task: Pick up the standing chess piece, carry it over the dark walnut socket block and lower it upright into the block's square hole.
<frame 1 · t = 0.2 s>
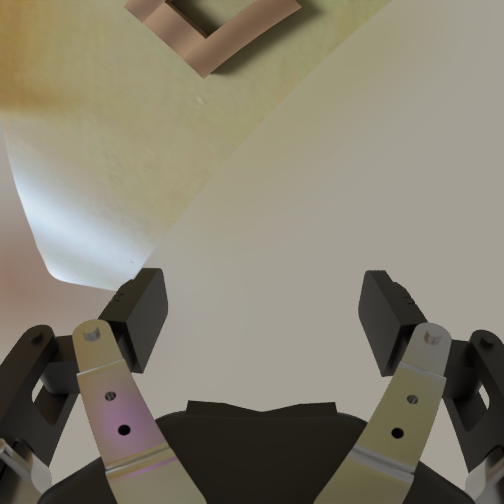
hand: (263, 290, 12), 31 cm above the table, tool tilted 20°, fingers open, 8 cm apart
socket block: (212, 1, 25), on the table
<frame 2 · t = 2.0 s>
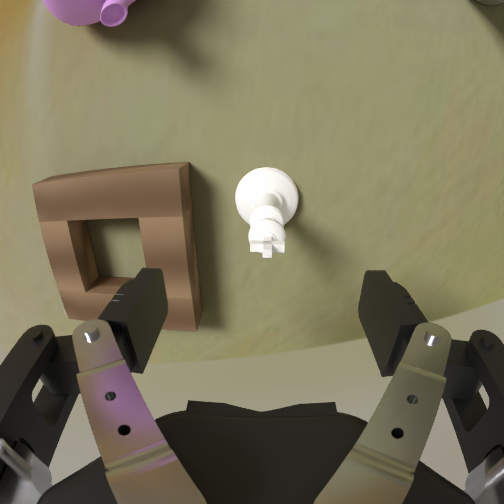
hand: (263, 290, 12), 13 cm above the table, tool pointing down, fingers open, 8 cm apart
socket block: (122, 244, 26), on the table
chess piece: (266, 197, 24), on the table
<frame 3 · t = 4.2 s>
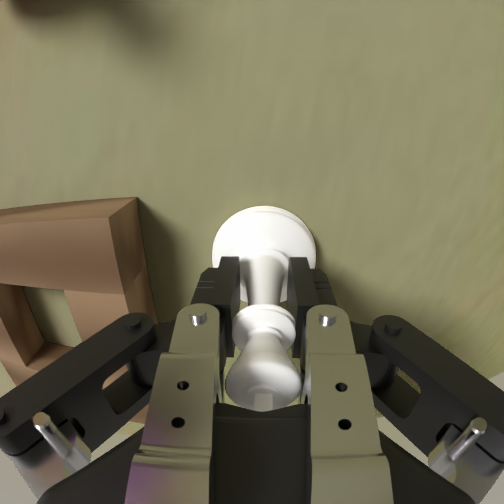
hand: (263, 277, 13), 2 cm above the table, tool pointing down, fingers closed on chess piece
socket block: (62, 308, 17), on the table
chess piece: (264, 253, 15), on the table, touching gripper
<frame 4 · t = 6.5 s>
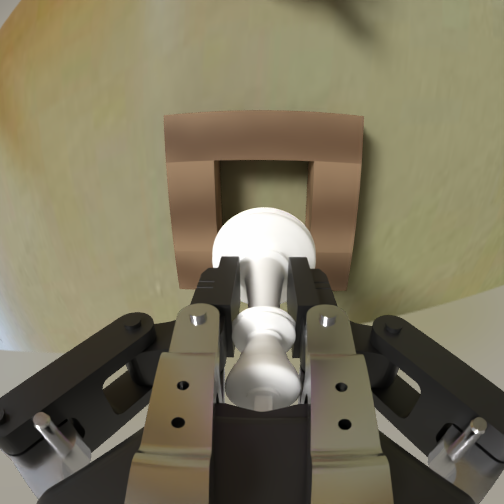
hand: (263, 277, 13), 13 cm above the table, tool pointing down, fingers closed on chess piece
socket block: (263, 197, 24), on the table
chess piece: (264, 255, 15), point 11 cm above the table, touching gripper
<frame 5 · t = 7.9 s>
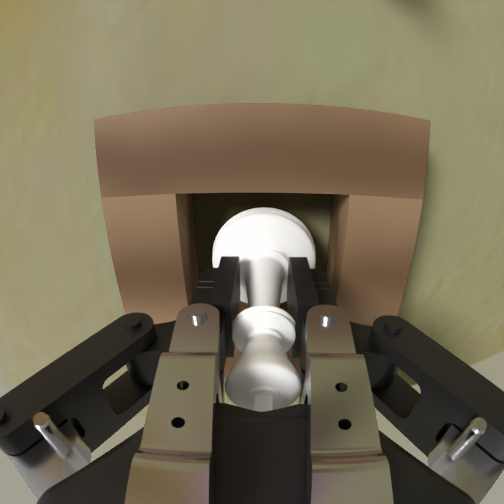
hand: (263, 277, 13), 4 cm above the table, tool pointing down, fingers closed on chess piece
socket block: (262, 244, 16), on the table
chess piece: (264, 254, 15), point 1 cm above the table, touching gripper
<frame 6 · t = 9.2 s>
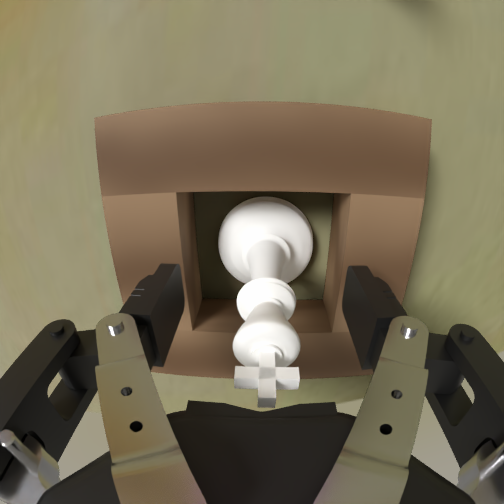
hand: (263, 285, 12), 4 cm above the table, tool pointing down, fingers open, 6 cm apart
socket block: (263, 243, 16), on the table
chess piece: (265, 240, 16), resting in socket block
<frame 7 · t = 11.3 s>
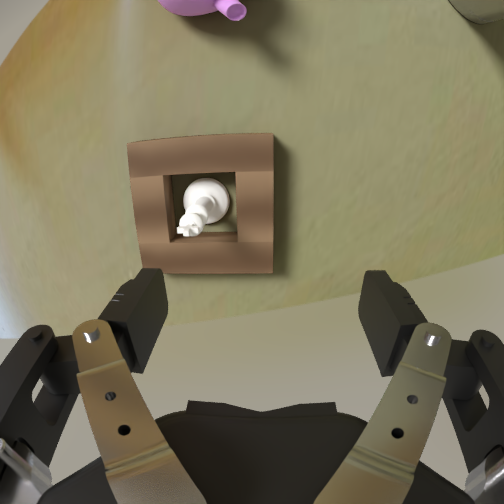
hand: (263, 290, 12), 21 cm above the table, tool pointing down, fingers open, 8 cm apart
socket block: (205, 201, 32), on the table
chess piece: (206, 200, 32), resting in socket block
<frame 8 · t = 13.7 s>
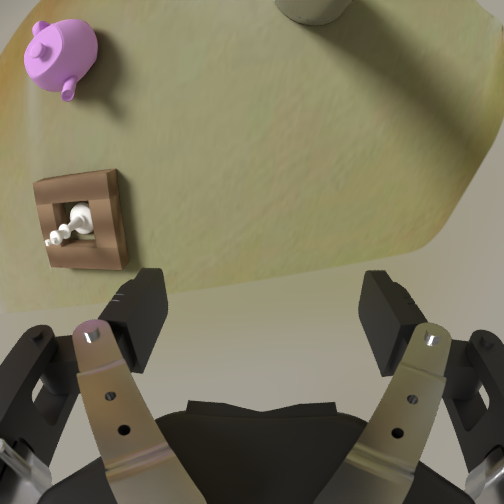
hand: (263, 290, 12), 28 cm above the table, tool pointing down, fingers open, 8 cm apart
socket block: (83, 218, 41), on the table
teapot: (77, 61, 31), on the table
chess piece: (84, 217, 41), resting in socket block
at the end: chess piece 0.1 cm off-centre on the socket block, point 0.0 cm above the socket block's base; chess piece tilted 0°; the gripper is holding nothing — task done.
